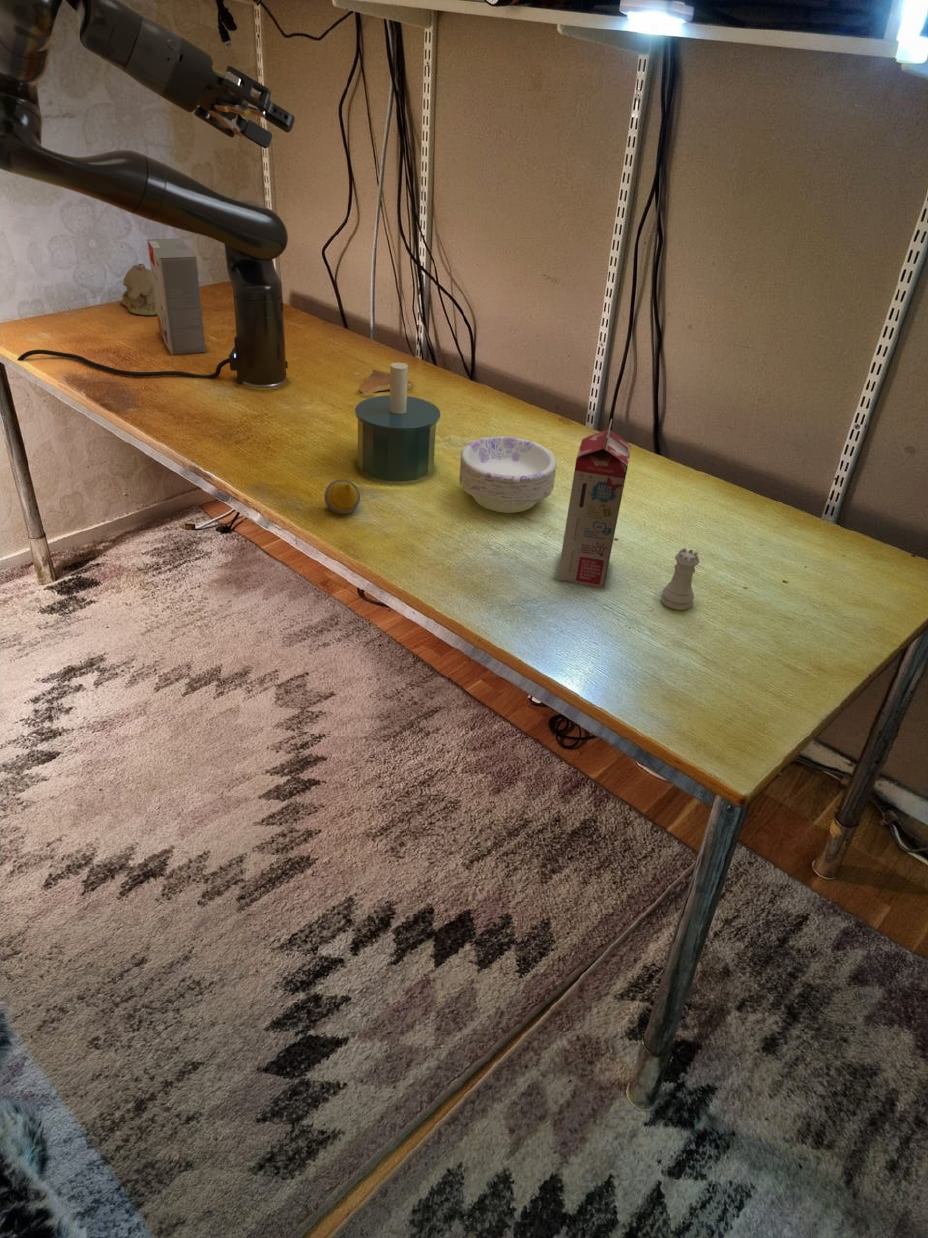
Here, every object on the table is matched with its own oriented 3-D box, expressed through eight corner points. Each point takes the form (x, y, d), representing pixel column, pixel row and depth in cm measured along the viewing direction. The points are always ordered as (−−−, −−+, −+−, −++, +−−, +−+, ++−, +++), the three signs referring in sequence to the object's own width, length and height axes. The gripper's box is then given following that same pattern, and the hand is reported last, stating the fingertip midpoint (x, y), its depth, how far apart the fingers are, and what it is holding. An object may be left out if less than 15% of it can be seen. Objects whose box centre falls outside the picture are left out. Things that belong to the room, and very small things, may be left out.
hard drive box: (158, 332, 196) (146, 238, 185) (193, 330, 199) (183, 237, 187) (170, 355, 185) (158, 256, 173) (207, 352, 188) (197, 255, 176)
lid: (350, 431, 138) (349, 377, 133) (360, 398, 149) (360, 347, 144) (438, 438, 138) (441, 384, 133) (441, 405, 149) (444, 354, 144)
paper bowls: (491, 530, 133) (496, 483, 128) (440, 488, 143) (443, 444, 139) (569, 511, 140) (577, 466, 136) (515, 472, 150) (521, 429, 146)
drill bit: (363, 504, 138) (374, 486, 128) (338, 526, 136) (347, 509, 127) (340, 479, 137) (349, 459, 128) (315, 500, 136) (322, 481, 126)
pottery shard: (359, 397, 174) (359, 384, 172) (359, 380, 181) (359, 368, 180) (412, 398, 175) (412, 386, 174) (409, 381, 182) (409, 369, 181)
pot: (355, 482, 143) (355, 427, 138) (360, 449, 153) (360, 397, 148) (433, 486, 144) (436, 432, 138) (433, 453, 154) (436, 402, 149)
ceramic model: (183, 310, 210) (178, 267, 204) (140, 318, 203) (134, 273, 197) (151, 296, 218) (146, 254, 212) (110, 303, 211) (103, 260, 205)
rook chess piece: (656, 593, 122) (668, 544, 117) (686, 593, 122) (699, 544, 118) (664, 611, 118) (677, 561, 114) (696, 612, 119) (710, 562, 114)
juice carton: (608, 564, 127) (636, 422, 115) (603, 587, 122) (632, 441, 109) (563, 556, 128) (586, 414, 116) (557, 579, 123) (580, 433, 110)
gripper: (145, 108, 119) (255, 171, 128) (173, 74, 107) (292, 146, 116) (162, 55, 118) (271, 122, 128) (191, 15, 107) (308, 92, 116)
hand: (280, 133), depth 122 cm, fingers open, 8 cm apart
